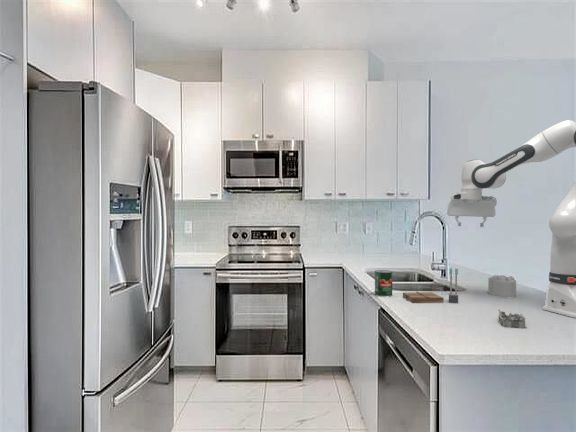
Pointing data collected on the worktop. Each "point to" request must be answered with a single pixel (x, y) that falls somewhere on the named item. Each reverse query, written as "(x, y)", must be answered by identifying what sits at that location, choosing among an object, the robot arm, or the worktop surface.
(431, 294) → the board
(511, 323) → the egg carton
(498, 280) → the lumpy-topped squat cylinder
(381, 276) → the canned tomato
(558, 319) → the worktop surface
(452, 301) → the tongs
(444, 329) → the worktop surface
